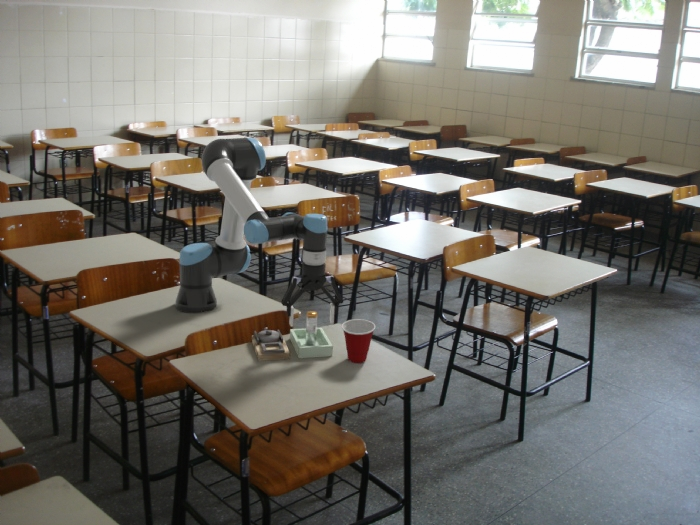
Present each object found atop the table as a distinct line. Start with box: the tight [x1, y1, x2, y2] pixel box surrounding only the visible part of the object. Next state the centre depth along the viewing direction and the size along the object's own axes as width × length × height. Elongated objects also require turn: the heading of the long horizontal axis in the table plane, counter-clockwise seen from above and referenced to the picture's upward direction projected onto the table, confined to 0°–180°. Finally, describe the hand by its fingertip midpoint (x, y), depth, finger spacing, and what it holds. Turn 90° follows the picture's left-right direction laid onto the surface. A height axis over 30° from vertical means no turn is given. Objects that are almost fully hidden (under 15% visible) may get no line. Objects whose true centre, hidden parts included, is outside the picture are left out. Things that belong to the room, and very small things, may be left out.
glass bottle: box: [305, 310, 318, 346], centre depth 233 cm, size 4×4×11 cm
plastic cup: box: [341, 318, 376, 364], centre depth 226 cm, size 11×11×12 cm
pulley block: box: [251, 329, 291, 362], centre depth 231 cm, size 16×10×5 cm, turn 15°
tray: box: [289, 327, 334, 359], centre depth 235 cm, size 16×11×4 cm
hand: (311, 324), depth 233 cm, fingers open, 13 cm apart
